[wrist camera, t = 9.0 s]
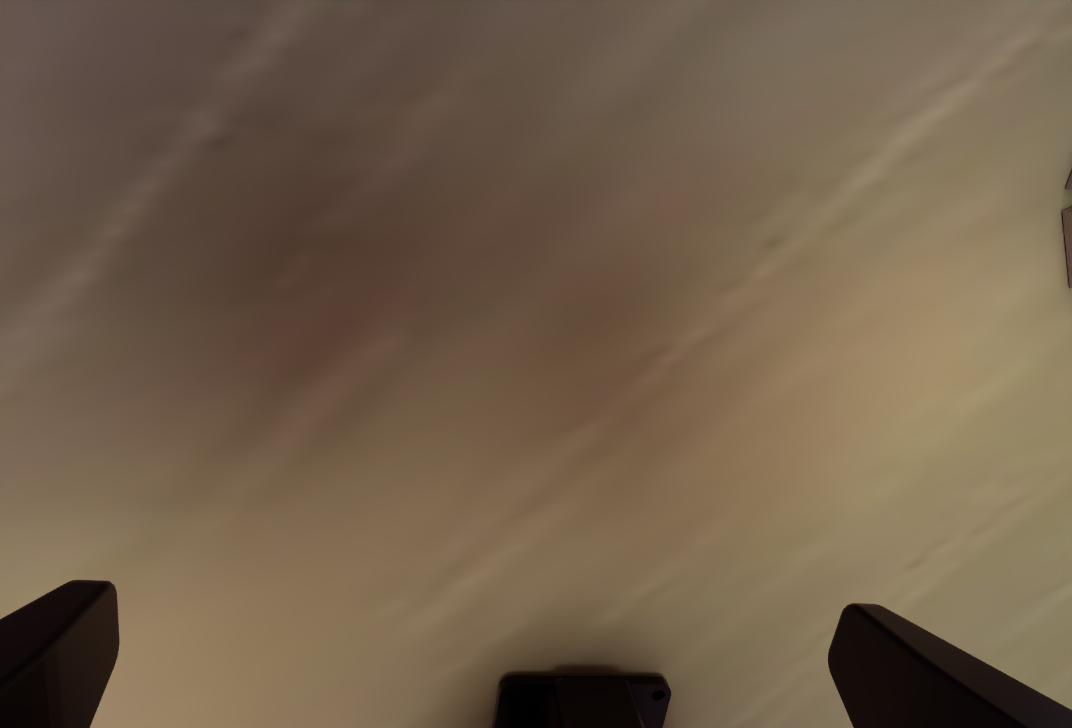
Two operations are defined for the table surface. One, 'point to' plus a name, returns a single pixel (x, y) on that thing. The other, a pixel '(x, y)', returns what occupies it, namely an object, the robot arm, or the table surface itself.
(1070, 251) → the toothed ring
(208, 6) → the table surface
